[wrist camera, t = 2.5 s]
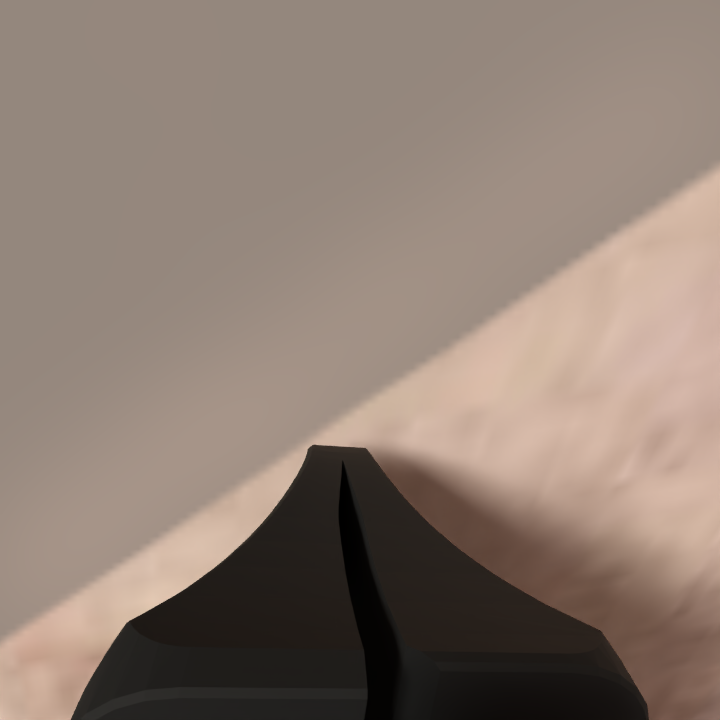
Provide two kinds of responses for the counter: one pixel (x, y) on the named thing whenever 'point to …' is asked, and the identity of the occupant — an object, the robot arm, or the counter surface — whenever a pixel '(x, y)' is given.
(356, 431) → the counter surface
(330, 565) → the robot arm
